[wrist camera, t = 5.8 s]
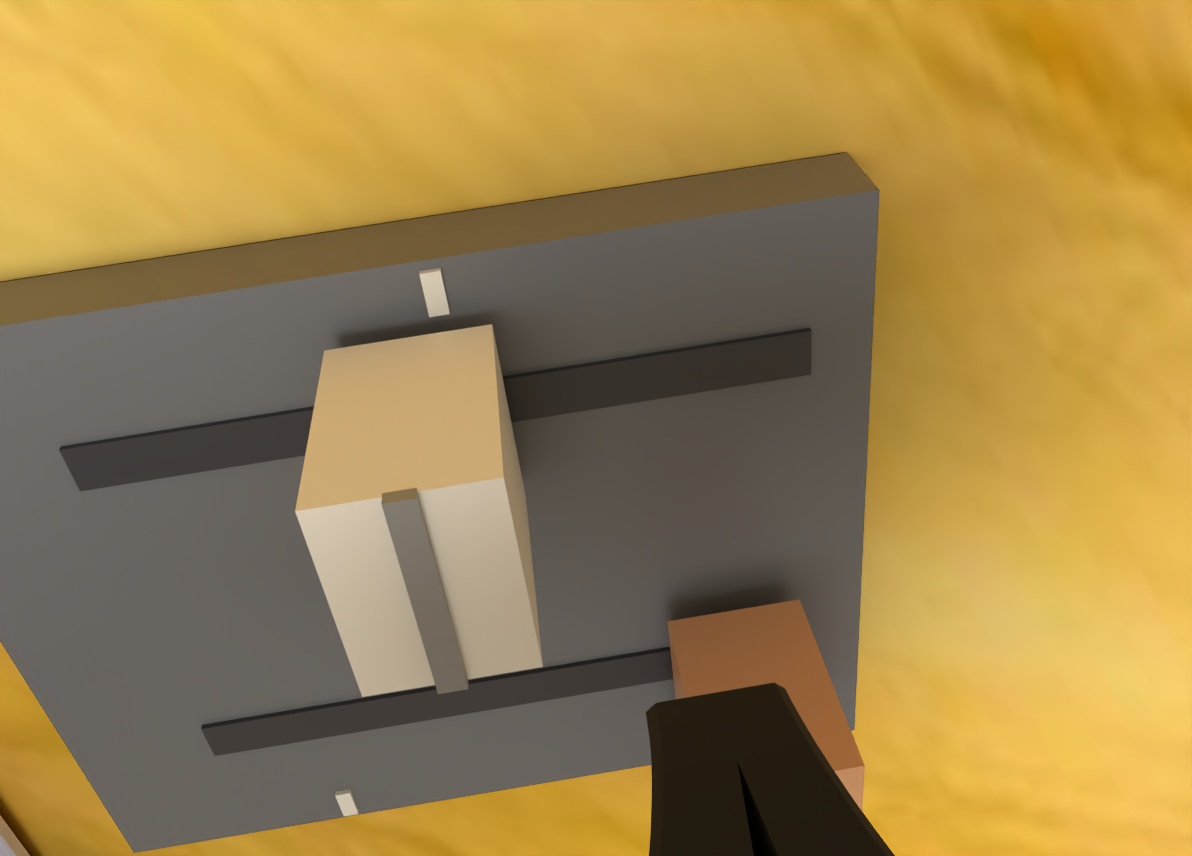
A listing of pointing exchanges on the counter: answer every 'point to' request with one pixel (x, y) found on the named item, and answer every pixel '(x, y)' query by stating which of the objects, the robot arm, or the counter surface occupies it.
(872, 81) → the counter surface
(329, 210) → the counter surface
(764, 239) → the console
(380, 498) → the fader cream
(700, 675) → the fader terracotta
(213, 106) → the counter surface
